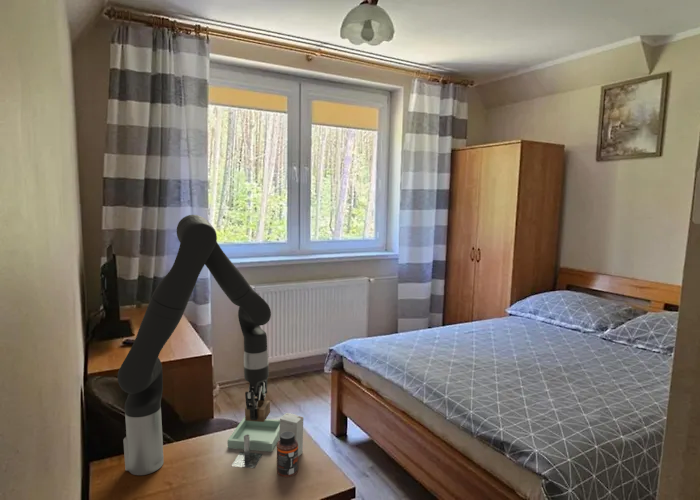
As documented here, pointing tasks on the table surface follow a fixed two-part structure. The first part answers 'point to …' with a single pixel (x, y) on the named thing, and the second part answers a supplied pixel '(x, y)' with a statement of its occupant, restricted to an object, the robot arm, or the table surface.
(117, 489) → the table surface
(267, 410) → the ring
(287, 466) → the supplement bottle
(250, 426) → the tray
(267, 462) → the table surface
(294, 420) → the skincare box
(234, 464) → the plate with metal peg
